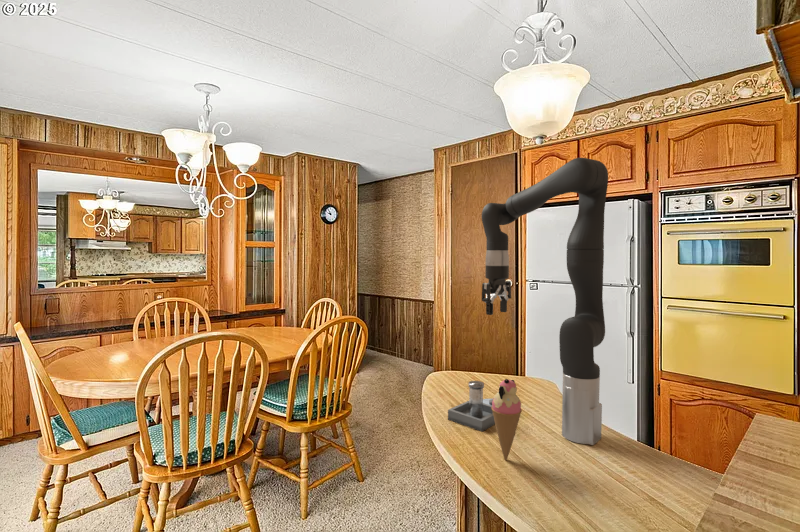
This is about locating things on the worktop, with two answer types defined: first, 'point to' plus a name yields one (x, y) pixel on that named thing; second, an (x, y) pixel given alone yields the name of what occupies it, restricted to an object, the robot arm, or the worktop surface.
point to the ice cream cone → (506, 414)
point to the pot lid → (488, 401)
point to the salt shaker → (476, 398)
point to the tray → (462, 417)
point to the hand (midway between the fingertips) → (496, 313)
